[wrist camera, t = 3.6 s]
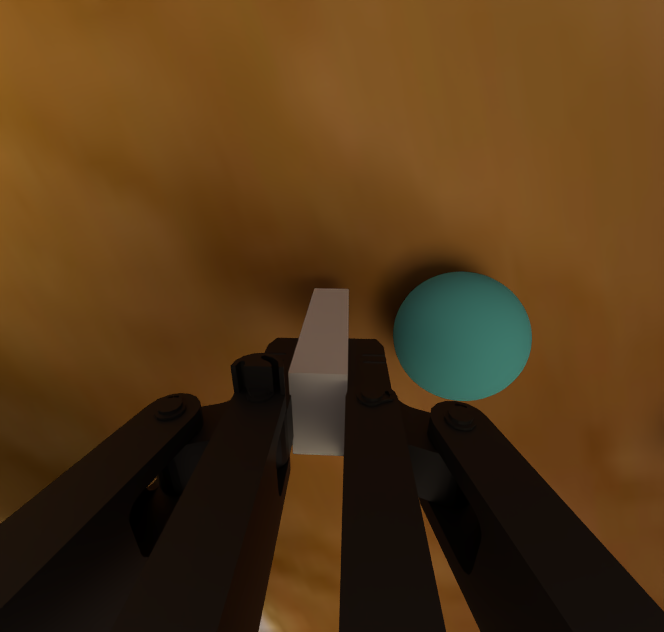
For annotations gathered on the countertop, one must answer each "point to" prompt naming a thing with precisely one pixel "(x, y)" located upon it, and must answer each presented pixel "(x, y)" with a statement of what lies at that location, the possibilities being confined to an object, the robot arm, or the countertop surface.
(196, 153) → the countertop surface
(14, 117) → the countertop surface
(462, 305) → the ball
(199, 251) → the countertop surface
